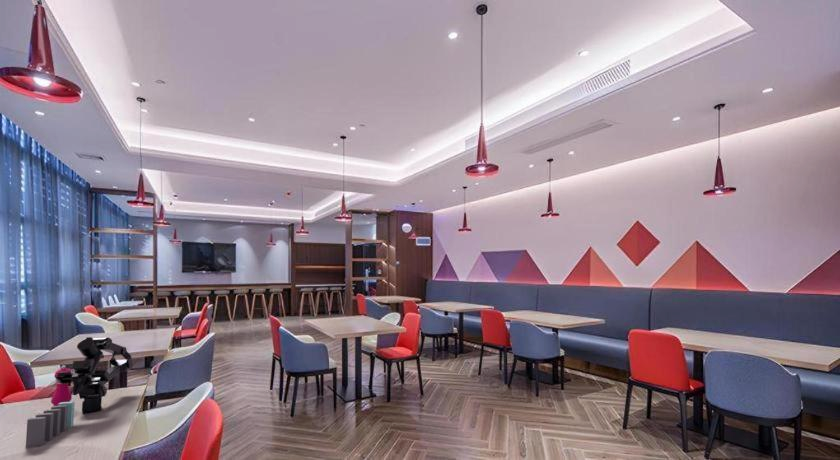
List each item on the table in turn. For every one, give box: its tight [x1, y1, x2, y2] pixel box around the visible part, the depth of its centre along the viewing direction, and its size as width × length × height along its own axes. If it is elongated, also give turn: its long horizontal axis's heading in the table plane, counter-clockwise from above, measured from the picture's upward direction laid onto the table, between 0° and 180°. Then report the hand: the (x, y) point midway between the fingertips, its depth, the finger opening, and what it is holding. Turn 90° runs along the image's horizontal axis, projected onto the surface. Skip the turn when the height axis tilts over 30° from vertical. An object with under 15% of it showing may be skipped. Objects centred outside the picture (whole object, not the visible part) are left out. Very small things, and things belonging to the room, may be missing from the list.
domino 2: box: [35, 412, 54, 442], centre depth 154 cm, size 2×5×10 cm, turn 102°
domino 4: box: [50, 405, 68, 433], centre depth 162 cm, size 2×5×10 cm, turn 102°
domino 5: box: [58, 401, 75, 429], centre depth 166 cm, size 2×5×10 cm, turn 102°
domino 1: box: [25, 416, 46, 448], centre depth 150 cm, size 2×5×10 cm, turn 102°
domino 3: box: [43, 408, 61, 438], centre depth 158 cm, size 2×5×10 cm, turn 102°
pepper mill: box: [50, 364, 73, 407], centre depth 188 cm, size 7×7×20 cm
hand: (74, 394), depth 172 cm, fingers closed
